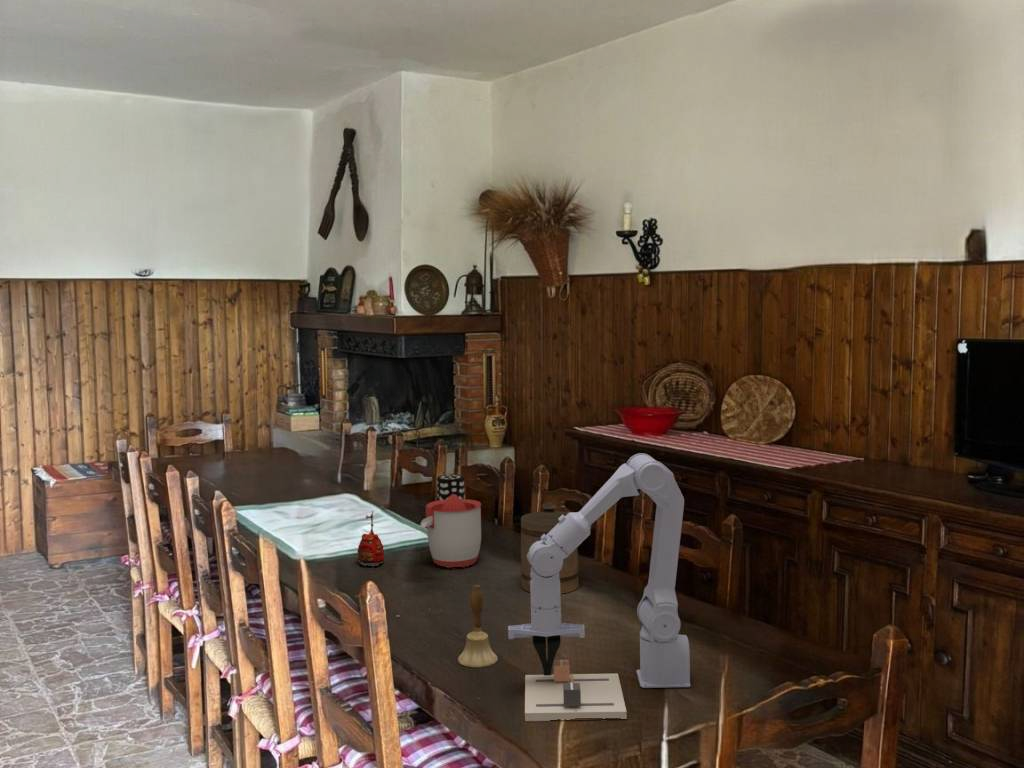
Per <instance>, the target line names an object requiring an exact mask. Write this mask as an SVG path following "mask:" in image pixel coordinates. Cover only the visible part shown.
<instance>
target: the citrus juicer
mask: <svg viewBox="0 0 1024 768" xmlns="http://www.w3.org/2000/svg"><path fill="white" fill-rule="evenodd" d="M481 507H482V503H481V502H480V501H479V500H475V499H466V498H465V499H459V498H458V497H457V496H456V495H455V494H452V495H451V496H450V497H449V498H448V499H446V500H439V501H438V500H435V501H431V502H428V503H427V504H426V505H425V518H423V519H422V520H421V522H420V527H421V528H423V529H425V528H427V541H428V546H429V550H430V554H431V559H432V561H433V563H434V564H435V563H436V564H438V565H440V566H446V567H462V568H466V567H465V566H467V567H470V566H469V565H472V564H473V565H475V564H476V563H475V562H477V560H478V557H479V553H480V549H481V544H482V543H481V542H482V513H481V512H482V509H481ZM474 563H475V564H474ZM473 565H472V566H473Z"/></svg>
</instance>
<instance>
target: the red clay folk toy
mask: <svg viewBox="0 0 1024 768" xmlns="http://www.w3.org/2000/svg"><path fill="white" fill-rule="evenodd" d="M365 519H366V520H368V519H370V521H371V524H370V527H371V528H370V532H369V533H363V534H362V535H361V539H360V541H359V544H358V549H357V554H358V557H357V559H358V561H359V560H360V562H363V563H380V562H382V561H383V562H384V561H385V550H384V546H383V543H382V540H381V538H380V537H379V535H378V534H375V533H374V530H373V527H374V522H373V521H374V510H372V511H371V514H370V516H369V515H365Z"/></svg>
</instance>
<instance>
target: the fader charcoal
mask: <svg viewBox="0 0 1024 768" xmlns="http://www.w3.org/2000/svg"><path fill="white" fill-rule="evenodd" d="M563 700H564V706H581V690H580V683H563Z"/></svg>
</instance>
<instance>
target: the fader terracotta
mask: <svg viewBox="0 0 1024 768" xmlns="http://www.w3.org/2000/svg"><path fill="white" fill-rule="evenodd" d="M552 667H553V675H554V681H570V674H571V673H570V669H571V667H570V660H569V659H554V661H553V664H552Z"/></svg>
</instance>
